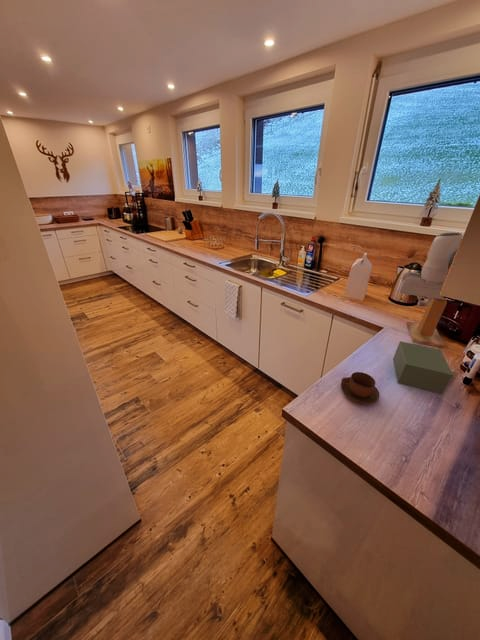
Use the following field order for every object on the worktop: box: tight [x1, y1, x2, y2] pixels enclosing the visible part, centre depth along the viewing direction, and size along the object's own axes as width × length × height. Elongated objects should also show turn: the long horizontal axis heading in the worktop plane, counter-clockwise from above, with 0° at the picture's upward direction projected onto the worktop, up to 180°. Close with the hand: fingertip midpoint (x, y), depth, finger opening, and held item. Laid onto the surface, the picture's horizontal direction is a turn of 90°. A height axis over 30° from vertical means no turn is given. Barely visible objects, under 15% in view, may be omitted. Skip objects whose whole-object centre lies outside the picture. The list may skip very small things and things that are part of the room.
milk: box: [342, 252, 373, 302], centre depth 157 cm, size 12×12×26 cm
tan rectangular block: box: [418, 298, 448, 336], centre depth 118 cm, size 5×5×20 cm
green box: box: [392, 340, 454, 395], centre depth 95 cm, size 16×14×9 cm
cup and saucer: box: [340, 371, 381, 405], centre depth 87 cm, size 12×12×6 cm
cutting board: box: [406, 321, 446, 349], centre depth 123 cm, size 12×18×2 cm, turn 158°
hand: (421, 305), depth 111 cm, fingers closed
